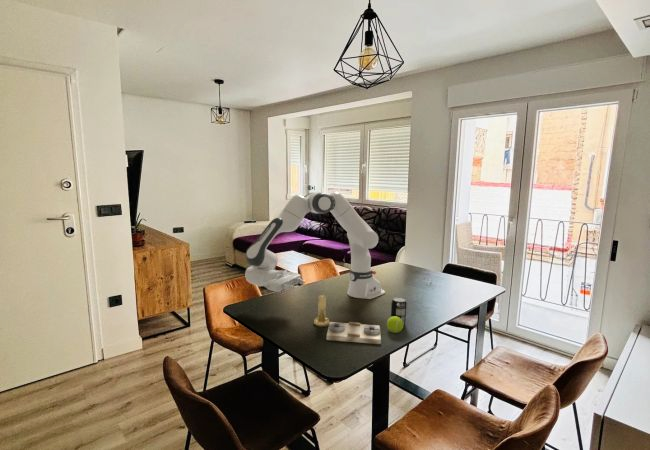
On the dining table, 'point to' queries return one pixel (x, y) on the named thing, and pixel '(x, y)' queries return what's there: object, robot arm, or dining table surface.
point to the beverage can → (399, 308)
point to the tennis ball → (395, 324)
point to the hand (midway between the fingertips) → (298, 284)
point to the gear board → (354, 332)
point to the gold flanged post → (321, 313)
